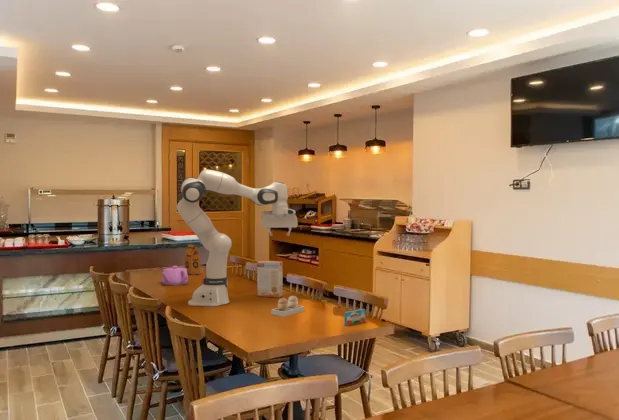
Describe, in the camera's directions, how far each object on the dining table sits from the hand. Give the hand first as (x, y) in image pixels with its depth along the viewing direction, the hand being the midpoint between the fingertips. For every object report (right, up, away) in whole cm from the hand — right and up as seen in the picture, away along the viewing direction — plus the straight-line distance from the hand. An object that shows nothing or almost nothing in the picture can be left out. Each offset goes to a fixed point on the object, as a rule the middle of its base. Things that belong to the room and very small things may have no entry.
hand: (279, 235), depth 285 cm
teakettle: (-74, -36, +56) cm, 99 cm away
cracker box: (-7, -37, +16) cm, 41 cm away
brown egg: (+4, -38, -31) cm, 49 cm away
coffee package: (-71, -34, +99) cm, 127 cm away
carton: (+6, -38, -28) cm, 48 cm away
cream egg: (+8, -37, -25) cm, 46 cm away
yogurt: (+38, -39, -47) cm, 72 cm away
